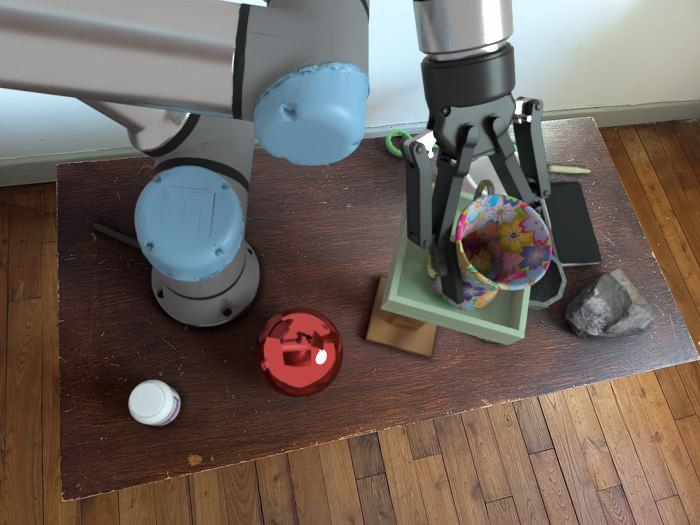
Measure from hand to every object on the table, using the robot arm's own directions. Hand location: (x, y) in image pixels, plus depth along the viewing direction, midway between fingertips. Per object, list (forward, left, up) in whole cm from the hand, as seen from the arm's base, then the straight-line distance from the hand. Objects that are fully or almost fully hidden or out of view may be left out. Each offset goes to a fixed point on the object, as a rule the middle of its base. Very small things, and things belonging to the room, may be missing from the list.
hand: (486, 281), depth 55 cm
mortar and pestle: (+14, +13, -29) cm, 35 cm away
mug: (-2, +3, -4) cm, 5 cm away
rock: (+31, +10, -29) cm, 44 cm away
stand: (-2, +3, -28) cm, 29 cm away
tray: (-2, +3, -4) cm, 6 cm away
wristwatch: (+12, +4, -29) cm, 31 cm away
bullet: (+17, +36, -28) cm, 49 cm away
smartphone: (+22, +27, -28) cm, 45 cm away
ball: (-16, -8, -29) cm, 34 cm away
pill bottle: (-32, -19, -29) cm, 47 cm away
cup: (+4, +25, -28) cm, 38 cm away
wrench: (-1, +38, -27) cm, 47 cm away
